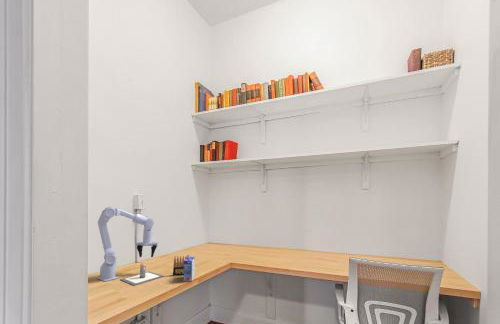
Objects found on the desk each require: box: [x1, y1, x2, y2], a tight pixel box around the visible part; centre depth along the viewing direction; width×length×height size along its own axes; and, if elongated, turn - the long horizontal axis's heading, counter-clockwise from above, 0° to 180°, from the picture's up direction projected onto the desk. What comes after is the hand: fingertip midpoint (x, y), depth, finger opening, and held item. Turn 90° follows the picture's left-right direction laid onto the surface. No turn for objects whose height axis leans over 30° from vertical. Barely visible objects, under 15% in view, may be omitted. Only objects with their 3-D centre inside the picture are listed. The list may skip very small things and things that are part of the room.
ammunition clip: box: [172, 255, 190, 277], centre depth 163 cm, size 11×2×12 cm, turn 100°
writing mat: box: [119, 271, 164, 286], centre depth 155 cm, size 16×20×1 cm
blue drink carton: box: [183, 254, 196, 282], centre depth 155 cm, size 10×6×14 cm, turn 2°
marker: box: [139, 262, 147, 278], centre depth 155 cm, size 3×3×8 cm
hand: (146, 256), depth 166 cm, fingers open, 7 cm apart
